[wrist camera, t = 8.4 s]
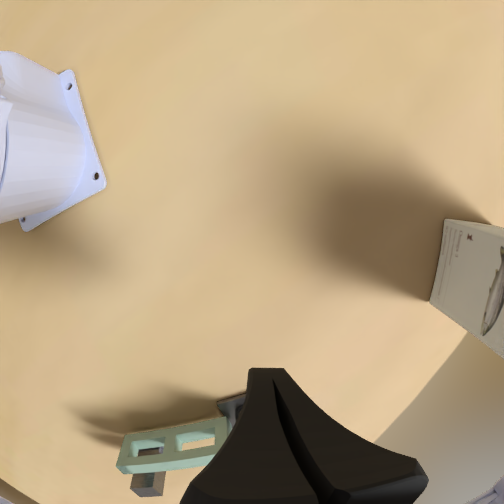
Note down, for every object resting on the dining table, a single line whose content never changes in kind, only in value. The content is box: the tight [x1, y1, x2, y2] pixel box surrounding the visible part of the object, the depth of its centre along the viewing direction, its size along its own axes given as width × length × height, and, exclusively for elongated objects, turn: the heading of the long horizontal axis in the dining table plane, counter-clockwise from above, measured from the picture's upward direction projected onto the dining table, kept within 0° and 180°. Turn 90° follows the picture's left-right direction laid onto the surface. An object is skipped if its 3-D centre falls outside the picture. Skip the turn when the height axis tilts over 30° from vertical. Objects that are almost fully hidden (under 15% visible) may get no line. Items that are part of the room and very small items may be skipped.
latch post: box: [130, 446, 166, 497], centre depth 21 cm, size 3×4×6 cm
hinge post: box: [217, 393, 246, 429], centre depth 21 cm, size 4×4×6 cm
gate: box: [116, 416, 232, 474], centre depth 21 cm, size 10×1×4 cm, turn 109°
